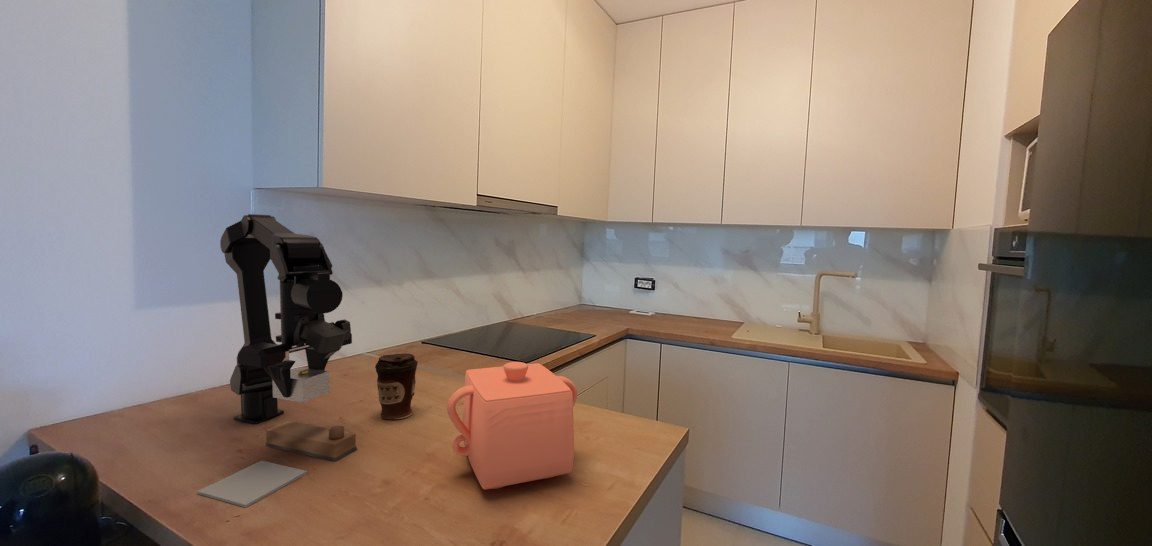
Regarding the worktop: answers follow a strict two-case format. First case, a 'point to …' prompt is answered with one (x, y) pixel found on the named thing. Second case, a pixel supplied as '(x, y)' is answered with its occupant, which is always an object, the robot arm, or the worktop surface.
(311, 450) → the plane body
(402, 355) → the coffee cup
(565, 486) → the worktop surface
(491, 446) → the teapot
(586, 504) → the worktop surface
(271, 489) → the felt pad
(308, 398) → the grey jewelry box
